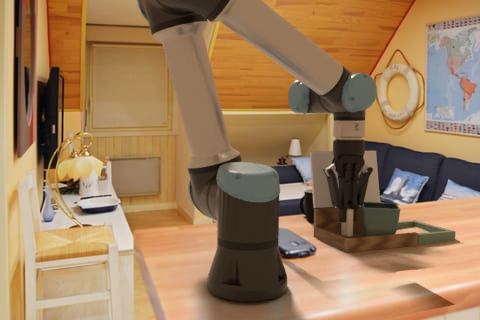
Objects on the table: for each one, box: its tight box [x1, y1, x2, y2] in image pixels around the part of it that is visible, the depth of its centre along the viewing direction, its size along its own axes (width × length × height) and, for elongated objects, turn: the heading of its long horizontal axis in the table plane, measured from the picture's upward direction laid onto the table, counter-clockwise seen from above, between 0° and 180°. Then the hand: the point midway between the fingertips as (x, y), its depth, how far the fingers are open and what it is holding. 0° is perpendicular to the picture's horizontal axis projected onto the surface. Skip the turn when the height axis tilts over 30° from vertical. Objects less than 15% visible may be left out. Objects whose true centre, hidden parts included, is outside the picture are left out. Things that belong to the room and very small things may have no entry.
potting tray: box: [397, 220, 456, 246], centre depth 120 cm, size 12×14×2 cm
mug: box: [299, 188, 336, 224], centre depth 134 cm, size 12×9×10 cm
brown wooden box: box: [313, 206, 419, 254], centre depth 115 cm, size 20×15×8 cm
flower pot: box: [361, 202, 401, 237], centre depth 116 cm, size 9×9×9 cm
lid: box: [309, 150, 381, 208], centre depth 122 cm, size 20×14×1 cm
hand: (347, 235), depth 113 cm, fingers closed
